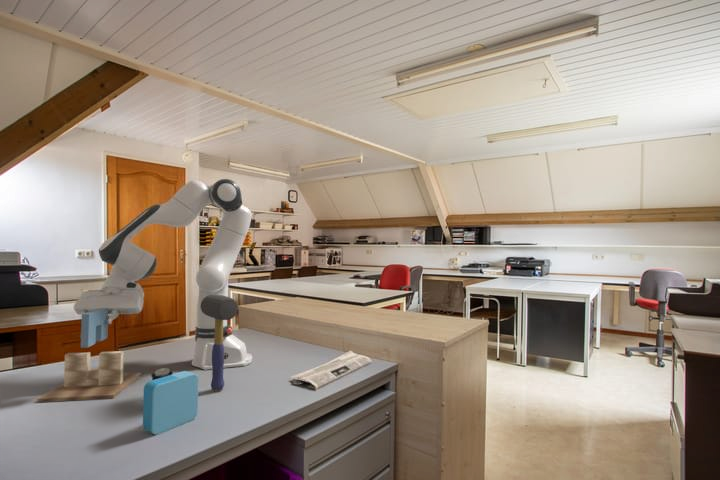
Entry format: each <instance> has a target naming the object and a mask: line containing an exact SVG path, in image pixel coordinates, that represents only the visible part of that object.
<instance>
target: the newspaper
mask: <svg viewBox="0 0 720 480" xmlns="http://www.w3.org/2000/svg"><path fill="white" fill-rule="evenodd" d="M372 363H373V361H372V360H371V359H370V357H368V356H366V355H362V354H357V353H355V352H353V350H349V351H347V352H346V353H344V354H342V355H340V356H338V357H335V358H334V359H331V360H330V361H328V362H326V363H325V364H322V365H319V366H316V367H314V368H311V369H308V370H305V371H303V372H300V373H298V374H295V375H292V376H290V378H292V384H294V385H300V383H301V385H303V384H305V383H309V384H310V385H308V386H307V388H310V389H314V390H315V391H317V390H319V389H322V388H324V387H326V386H327V385H330V384H332V383H333V382H336V381H338V380H340V379H342V378H344V377H346V376H348V375H351V374H353V373H354V372H357V371H359V370H360V369H363V368H366V367H367V366H369V365H371V364H372ZM302 383H303V384H302Z"/></svg>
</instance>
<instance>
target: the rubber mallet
mask: <svg viewBox="0 0 720 480" xmlns="http://www.w3.org/2000/svg"><path fill="white" fill-rule="evenodd" d="M201 310H202V312H203V313H204V314H205V315H207V316H210V317H212V318H215V337H214V345H213V350H212V369H211V371H212V375H211V377H212V379H211V382H210V388H211V389H212V392H213V391H214V392H220V391H222V390H223V388H224V386H225V379H224V368H223V366H224V345H223V320H227V321H230V320H232V319H233V318H235V316H237V314H238V310H239V304H238V302H237V300H235V298H232V297H231V296H230V297H229V296H228V297H227V296H223V295H208V296H206V297H205V298H204V299H203V300H202V302H201Z"/></svg>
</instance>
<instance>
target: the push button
mask: <svg viewBox="0 0 720 480" xmlns="http://www.w3.org/2000/svg"><path fill="white" fill-rule="evenodd" d="M172 374H174V372H173V371H172V370H170V368H168V367H164V368H163V367H161V368H157V369H156V370H155V371H154V372H153V373H151V376H150V377H151V379H152V380H155V379H158V378H162V377H165V376H169V375H172Z"/></svg>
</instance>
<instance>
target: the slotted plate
mask: <svg viewBox="0 0 720 480" xmlns="http://www.w3.org/2000/svg"><path fill="white" fill-rule="evenodd" d="M106 317H109V314H108V308H101V309H98V310H94V311H91V312H88V313H85V314H81V324H80V326H81V328H80V348H81V349H82V348H90V347H92V346H94V345H95V344H96V342H102V341H104V340H106V339H108V333H109V332H108V331H109V330H108V329H109V324H105V322H104V321H105V318H106Z"/></svg>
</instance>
